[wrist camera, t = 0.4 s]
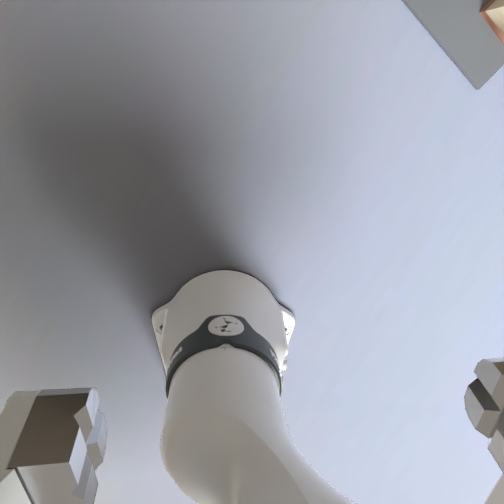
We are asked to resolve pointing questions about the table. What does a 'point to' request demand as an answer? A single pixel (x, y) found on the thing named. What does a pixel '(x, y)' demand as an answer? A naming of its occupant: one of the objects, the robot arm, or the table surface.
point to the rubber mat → (462, 35)
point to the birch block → (495, 17)
